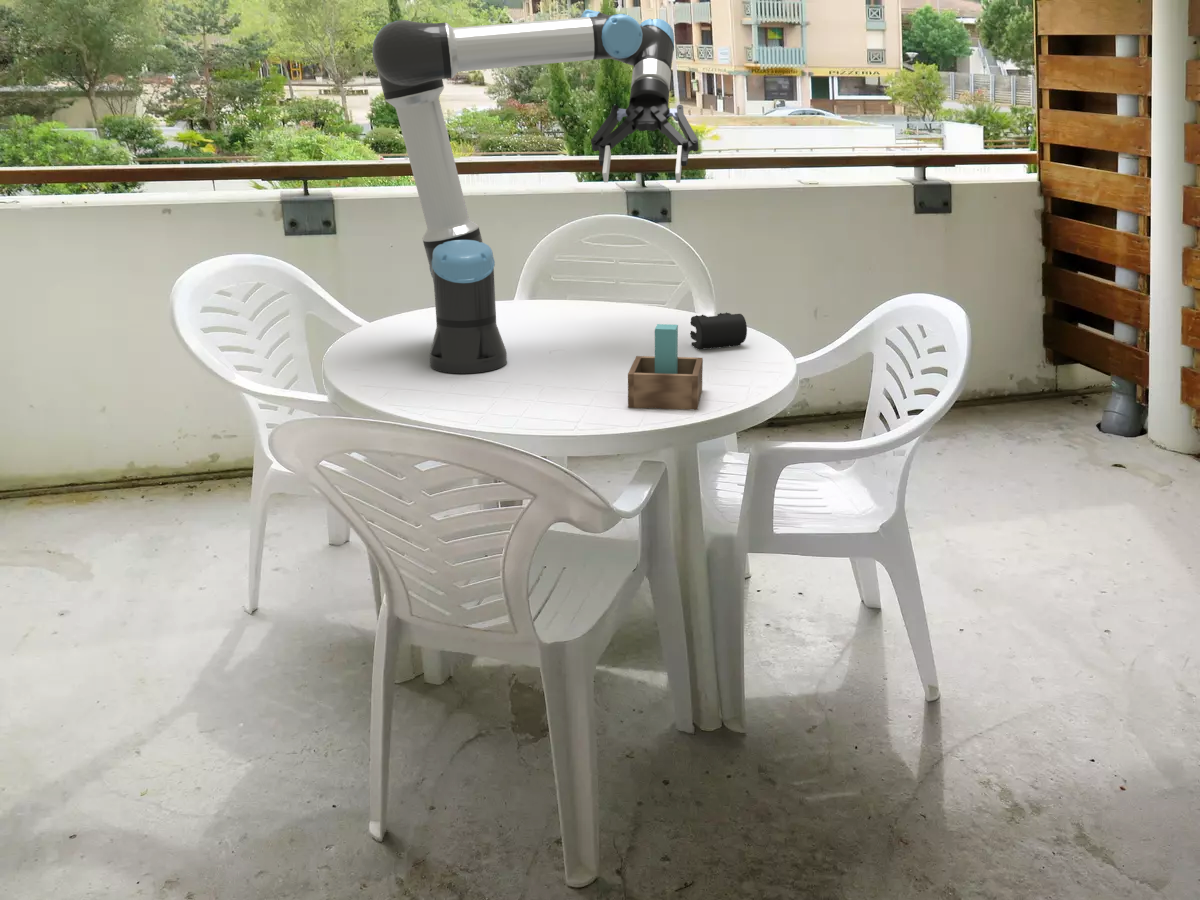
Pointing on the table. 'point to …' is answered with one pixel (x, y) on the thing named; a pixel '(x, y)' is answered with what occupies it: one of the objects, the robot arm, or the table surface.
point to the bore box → (665, 384)
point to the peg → (666, 349)
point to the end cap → (718, 330)
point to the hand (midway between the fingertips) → (641, 178)
